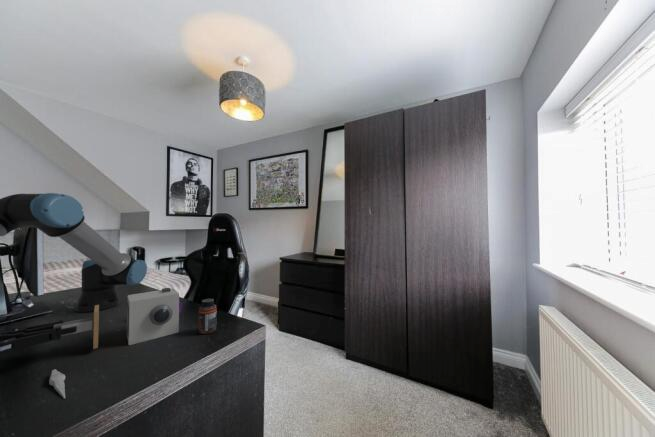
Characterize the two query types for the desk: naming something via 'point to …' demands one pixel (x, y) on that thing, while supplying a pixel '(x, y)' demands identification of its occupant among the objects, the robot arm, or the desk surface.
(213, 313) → the supplement bottle
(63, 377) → the grey tapered wedge
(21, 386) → the desk surface
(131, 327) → the camera body
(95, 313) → the door
